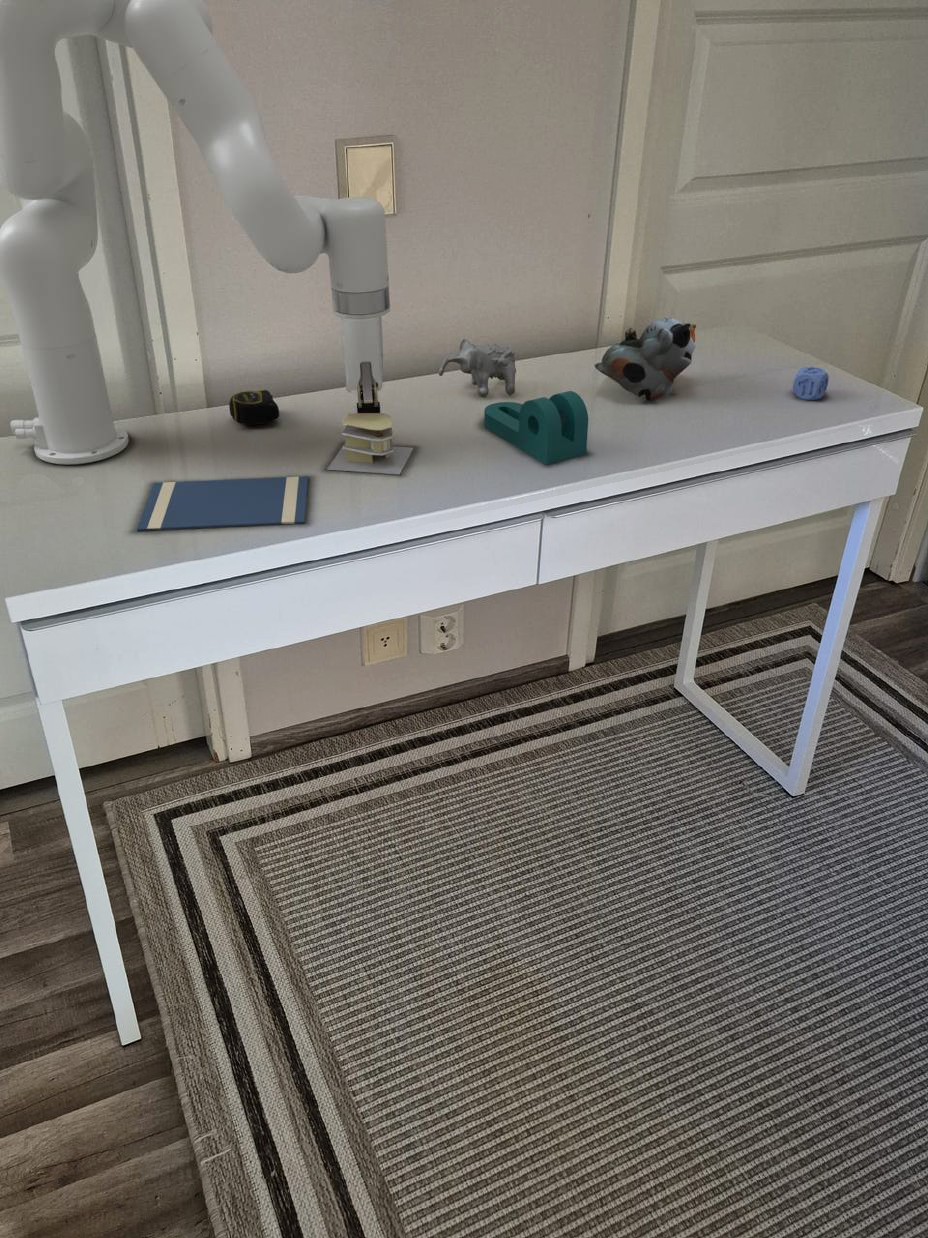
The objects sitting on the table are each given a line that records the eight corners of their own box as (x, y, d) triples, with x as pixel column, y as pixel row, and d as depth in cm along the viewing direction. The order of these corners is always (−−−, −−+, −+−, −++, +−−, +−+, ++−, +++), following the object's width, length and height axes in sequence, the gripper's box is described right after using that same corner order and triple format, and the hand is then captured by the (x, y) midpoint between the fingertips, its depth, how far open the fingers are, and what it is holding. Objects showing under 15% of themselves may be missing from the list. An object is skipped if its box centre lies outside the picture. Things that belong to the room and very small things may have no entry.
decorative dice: (790, 396, 160) (795, 371, 158) (802, 389, 163) (806, 364, 161) (815, 402, 158) (819, 377, 156) (826, 395, 161) (830, 370, 159)
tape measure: (281, 426, 151) (278, 402, 149) (234, 431, 149) (231, 407, 147) (274, 410, 156) (271, 386, 154) (228, 415, 155) (225, 391, 153)
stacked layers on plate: (327, 469, 138) (323, 431, 135) (344, 443, 145) (341, 406, 142) (399, 474, 137) (398, 436, 134) (413, 448, 144) (412, 410, 141)
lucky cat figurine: (613, 368, 171) (660, 293, 165) (670, 409, 168) (721, 335, 162) (580, 368, 158) (631, 287, 152) (642, 413, 155) (696, 332, 149)
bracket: (586, 453, 142) (589, 399, 138) (546, 464, 139) (548, 409, 135) (513, 413, 155) (514, 362, 151) (475, 422, 152) (475, 370, 148)
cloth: (137, 531, 123) (136, 528, 123) (154, 484, 134) (153, 482, 134) (304, 523, 125) (304, 521, 125) (308, 478, 136) (308, 475, 136)
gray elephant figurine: (527, 394, 162) (528, 346, 158) (461, 408, 157) (461, 359, 153) (496, 376, 168) (497, 330, 164) (432, 390, 163) (431, 342, 159)
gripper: (332, 285, 141) (342, 413, 150) (332, 317, 128) (343, 454, 138) (387, 283, 141) (394, 410, 151) (392, 314, 129) (399, 451, 139)
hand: (370, 431), depth 144 cm, fingers closed
